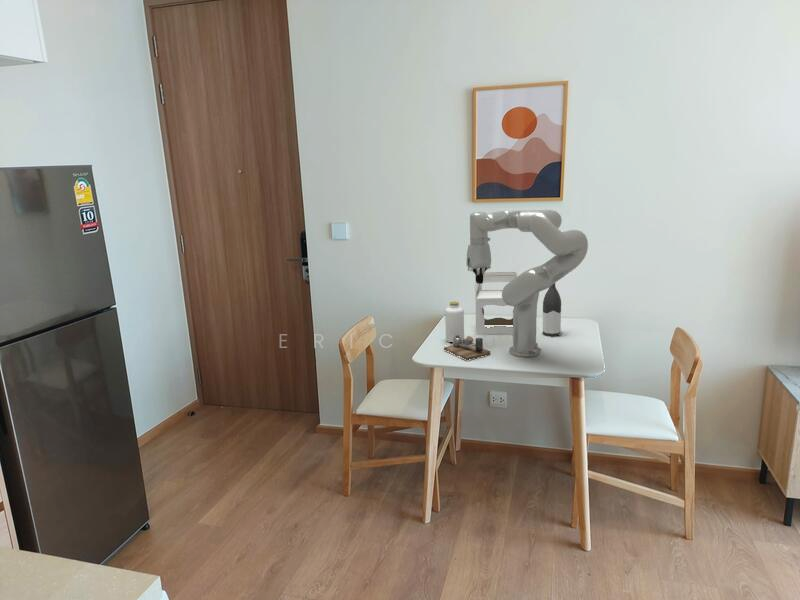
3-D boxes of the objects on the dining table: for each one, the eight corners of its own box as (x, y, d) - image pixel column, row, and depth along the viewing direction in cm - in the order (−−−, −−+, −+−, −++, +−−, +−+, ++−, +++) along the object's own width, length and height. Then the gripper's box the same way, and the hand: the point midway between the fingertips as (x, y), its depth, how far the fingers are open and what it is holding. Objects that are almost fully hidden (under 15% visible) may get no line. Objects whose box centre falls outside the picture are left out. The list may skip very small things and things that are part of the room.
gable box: (475, 334, 264) (474, 276, 257) (475, 326, 277) (474, 270, 270) (524, 334, 262) (524, 274, 255) (521, 325, 274) (522, 269, 267)
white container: (465, 338, 259) (464, 300, 255) (462, 344, 252) (461, 305, 247) (447, 337, 262) (446, 300, 257) (444, 343, 254) (443, 304, 249)
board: (490, 354, 237) (490, 340, 236) (466, 361, 231) (466, 346, 230) (467, 344, 251) (466, 331, 249) (444, 350, 245) (443, 336, 243)
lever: (451, 344, 245) (451, 333, 244) (457, 342, 247) (457, 331, 246) (479, 352, 234) (479, 340, 233) (485, 349, 237) (485, 338, 235)
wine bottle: (558, 331, 263) (560, 268, 255) (562, 336, 255) (563, 271, 248) (541, 331, 264) (542, 268, 256) (543, 337, 256) (544, 272, 249)
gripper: (489, 238, 248) (490, 279, 253) (459, 242, 243) (460, 283, 248) (498, 240, 242) (498, 282, 246) (467, 244, 236) (468, 286, 241)
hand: (479, 283), depth 247 cm, fingers closed
